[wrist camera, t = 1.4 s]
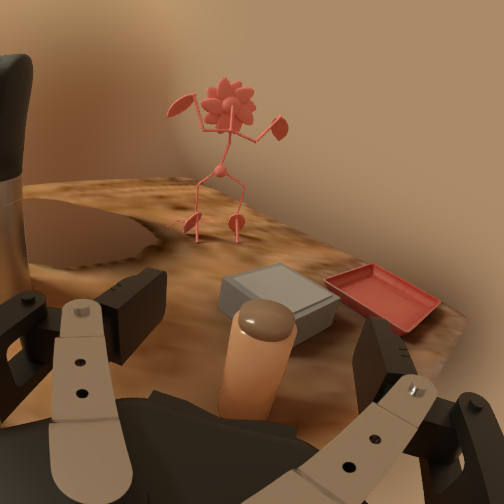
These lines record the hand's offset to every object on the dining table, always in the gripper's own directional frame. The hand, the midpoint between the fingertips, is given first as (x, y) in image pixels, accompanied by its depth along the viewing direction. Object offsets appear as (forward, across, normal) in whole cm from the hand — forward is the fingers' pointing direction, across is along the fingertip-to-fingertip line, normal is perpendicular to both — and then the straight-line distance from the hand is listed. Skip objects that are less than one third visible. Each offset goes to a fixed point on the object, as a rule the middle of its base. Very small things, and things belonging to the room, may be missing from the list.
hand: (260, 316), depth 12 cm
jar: (+12, 0, +18) cm, 22 cm away
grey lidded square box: (+30, 0, +17) cm, 34 cm away
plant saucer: (+42, -19, +17) cm, 49 cm away
